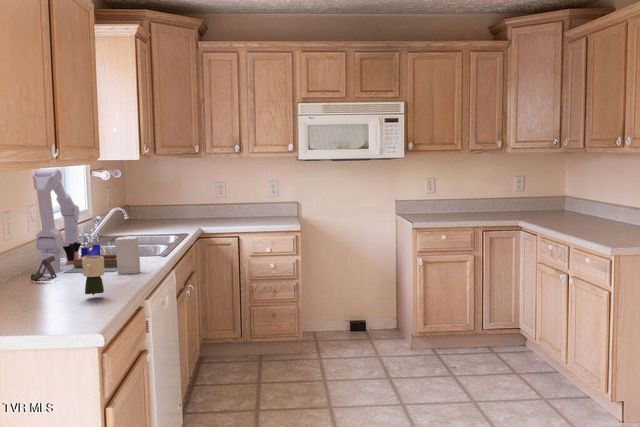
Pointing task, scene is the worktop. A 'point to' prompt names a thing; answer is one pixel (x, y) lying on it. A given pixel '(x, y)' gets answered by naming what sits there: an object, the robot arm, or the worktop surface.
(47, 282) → the worktop surface
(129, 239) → the skincare box
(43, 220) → the robot arm
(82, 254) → the cable clip
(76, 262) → the brown wooden tray
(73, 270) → the dock mat
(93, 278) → the character mug
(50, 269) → the portable electronic device stand
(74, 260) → the part block
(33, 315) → the worktop surface
